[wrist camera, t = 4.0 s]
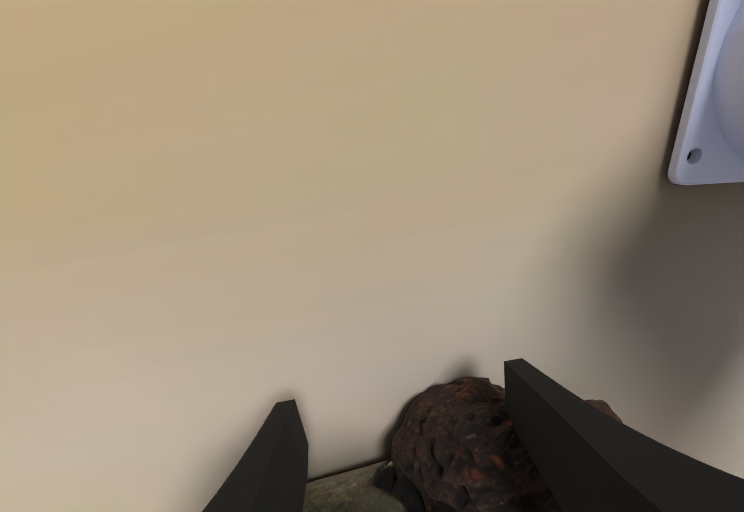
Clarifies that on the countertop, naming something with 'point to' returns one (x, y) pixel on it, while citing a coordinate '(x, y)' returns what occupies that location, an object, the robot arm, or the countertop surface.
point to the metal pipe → (446, 461)
